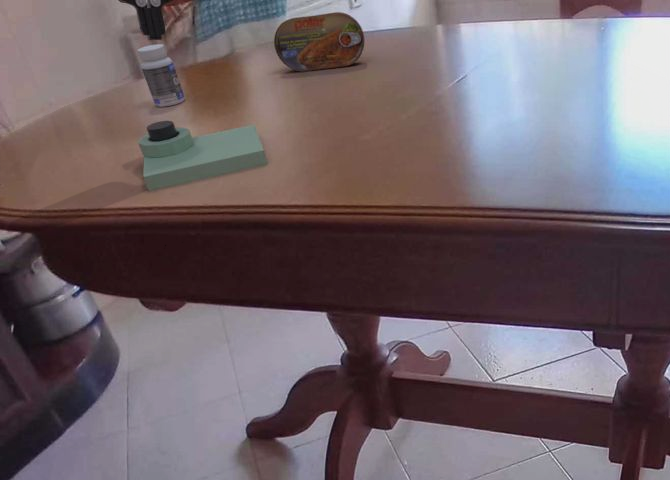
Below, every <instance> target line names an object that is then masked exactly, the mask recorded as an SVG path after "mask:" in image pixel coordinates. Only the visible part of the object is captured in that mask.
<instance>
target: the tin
mask: <svg viewBox="0 0 670 480" xmlns="http://www.w3.org/2000/svg"><path fill="white" fill-rule="evenodd" d="M273 37H274V38H273V45H274V46H273V47H274V50H275V53H276V55H277V57H278V58H279V60H280V61H281V62H282V63H283V64H284V65H285V66H286V67H287V68H289V69H291V70H293V71H296V72H300V73H304V72H305V73H306V72H312V71H313V72H314V71H320V70H327V69H336V68H344V67H349V66H351V65H353V64H355V63H356V62H357V61H358V60H359V59H360V57H361V56H362V54H363V51H364V47H365V34H364V31H363V27H362V26H361V24H360V23H359V22H358V21H357V20H356V18H354V17H353V16H352V15H350V14H348V13H345V12H341V11H338V12H337V11H336V12H329V13H321V14H315V15H306V16H305V15H304V16H298V17H292V18H289V19H286V20H284V21H283V22H282V23H280V24H279V26H278V27H277V28H276V31H275V34H274V36H273Z"/></svg>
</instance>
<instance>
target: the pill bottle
mask: <svg viewBox="0 0 670 480" xmlns="http://www.w3.org/2000/svg"><path fill="white" fill-rule="evenodd" d="M137 53H138V56H139V59H140V60H141V61H142V62H141V63H140V69H141V71H142V74H143V77H144V79H145V82H146V84H147V87H148V89H149V92H150V95H151V98H152V100H153V102H154V104H155V106H156V107H159V108H165V107H170V106H175V105H178V104H181V103H183V102H184V101H185V99H186V97H185V94H184V90H183V88H182V84H181V82H180V79H179V76H178V74H177V71H176V70H177V69H176V68H175V64H174V62H173V60H172V58H170V57H169V56H168V52H167V49H166V46H165V45H164V44H163V43H157V44H149V45H146V46H143V47H140V48H138V49H137Z"/></svg>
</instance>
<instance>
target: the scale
mask: <svg viewBox="0 0 670 480" xmlns="http://www.w3.org/2000/svg"><path fill="white" fill-rule="evenodd" d="M175 129H176V131H177V134H178V136H176V137H174V138H171V139H169V140H164V141H160V142H152V141H151V139H150V136H149V134H148V133H147V134H145V135H143V136H141V137H139V139H138V143H137V144H138V146H139V150H140V151H141V154H142V156H143V170H142V178H143V180H144V183H145V185H146V188H147V191H148V192H152V191H156V190H161V189H164V188H169V187H174V186H178V185H182V184H183V185H184V184H187V183H192V182H197V181H200V180H206V179H209V178H215V177H218V176H223V175H227V174H231V173H236V172H240V171H245V170H249V169H254V168H257V167H258V168H259V167H263V166H266V165H269V162H268V158H267V155H266V152H265V149H264V146H263V143H262V141H261V138H260V135H259V133H258V131H257V127H256V125H255V124H249V125H244V126H240V127H235V128H231V129H225V130H222V131H217V132H212V133H207V134H203V135H198V136H192V134H191V130H190V129H189V128H186V127H183V126H179V127H176V126H175Z"/></svg>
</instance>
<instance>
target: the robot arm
mask: <svg viewBox="0 0 670 480" xmlns="http://www.w3.org/2000/svg"><path fill="white" fill-rule="evenodd" d="M173 1H174V0H118V2H119V3H122V4H126V5H129V6H132V7H133V8H134V9H135V11H136V15H137V21H138V24H139V25H138V26H139V30H140V33H141V34H142V36H146V38H147V40H148V41H162V40H163V39H162V37H163V36H164V35H166V25H165V21H164V15H163V11H162V10H163V9H162V8H163V7H164V5H166V4H169V3H171V2H173Z"/></svg>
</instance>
